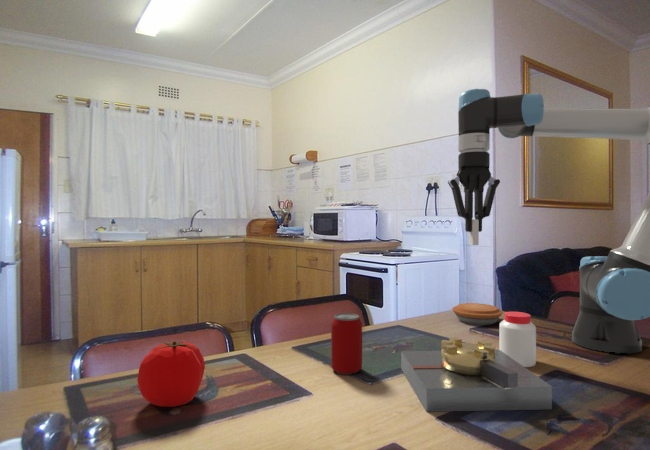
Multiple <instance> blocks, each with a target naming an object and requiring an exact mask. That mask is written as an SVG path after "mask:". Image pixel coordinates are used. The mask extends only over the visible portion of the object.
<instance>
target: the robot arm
mask: <svg viewBox="0 0 650 450" xmlns="http://www.w3.org/2000/svg"><path fill="white" fill-rule="evenodd" d="M544 101H545V100H544V96H543V95H542V94H540V93H524V94H515V95H506V96H505V95H504V96H497V97H496V96H495V97H494V96H491V93H490V91H489V90H488V89H485V88H473V89H468V90H465V91H463V92H462V93H461V94H460V95H459V98H458V113H457V115H458V116H457V117H458V150H457V151H458V152H459V154H458V163H457V164H458V166H457V167H458V171H457V173H456V176H455V177H453V178H452V179H449V180H448V181H447V184H448V186H449V187H450V189H451V191H452V195H453V200H454V204H455V208H456V213H457V216H458V217H461V218H463V219H464V221H465V224H464V226H465V227H464V230H465V232H467V233H468V245H471V246H479V245H480V244H479V240H480V239H479V238H480V237H479V235H480V234H479V233H481V232H482V231H483V220H484V218H486V217H490V215H491V211H492V207H493V204H494V198H495V196H496V190H497V188H498V187H499V185H500V183H501V180H500V179H499V178H497V179H496V178H495V177H494V176H492V173H491V171H490V164H491V163H490V160H491V159H490V155H491V154H490V153H489V152H488V151H489V150H490V145H491V144H490V139H491V138H490V136H491V135H490V129H498V132H499V133H500V134H501V135H502V136H503V137H504V138H507V139H515V138H518V137H539V138H540V137H544V138H545V137H546V138H547V137H549V138H568V139H569V138H575V139H597V140H598V139H599V140H600V139H601V140H602V139H604V140H633V141H640V142H642V143H643V144H644V145H650V106H649V107H647V108H580V107H579V108H578V107H573V108H572V107H571V108H568V107H566V108H564V107H560V108H559V107H550V108H549V107H544V104H545V103H544ZM460 184H461V186H462V187H463V193H464V200H463V196H462V191H461V187H460ZM486 184H487V185H488V186H487V190H486V194H485V197H484V190H485V186H486ZM473 204H474V205H473ZM473 216H474V217H473ZM579 264H580V265H579V267H578V268H579V313H578V316H577V318H576V321H575V324H574V326H573V330H572V331H571V342H572V343H574V345H575V344H576V345H577V346H579V347H582V348H584V349H589V350H592V351H597V350H598V351H597V352H602V351H604V352H603V353H609V352H615V353H614V354H620V353H627V354H628V355H629V354H637V353H640V352H642V350H643V341H642V340H643V339H642V338H641V336H640V333H639V330H638V327H637V325H636V322H635V321H639V320H640V321H641V320H645V319H648V318H650V191H649V192H648V194H647V195H646V198H645V200H644V202H643V204H642V205H641V208H640V209H639V211H638V213H637V215H636V217H635V219H634V221H633V222H632V225H631V227H630V229H629V231H628V233H627V235H626V237H625V239H624V240H623V243H622V245H620V247H616V248H614V249H611V250H610V251H609V252H608V255H607V256H605V255H603V256H600V255H598V256H597V255H596V256H592V255H591V256H584V257H582V258H581V259H580V263H579Z"/></svg>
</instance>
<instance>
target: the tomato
mask: <svg viewBox="0 0 650 450" xmlns="http://www.w3.org/2000/svg"><path fill="white" fill-rule="evenodd" d="M161 343H162V344H160V345H157V346H154V347H153V348H152V349H150V351H149V352H148V353H147V354H146V355H145V356H144V357H143V359H142V360H141V362H140V365H139V366H138V367H139V368H138V372H137V379H136V381H137V387H138V390H139V392H140V394H141V396H142V397H143V398H144V399H145V401H146V402H148V403H149V404H152V405H153V406H158V407H171V408H172V407H173V408H175V407H176V406H177V407H179V406H182V405H186V404H188V403H189V402H190V401H192V400H194V398H195V396H196V395H197V393H198V392H199V389H200V387H201V383H202V381H203V378H204V373H205V369H206V366H205V365H206V364H205V358H204V356H203V354H202V353H201V350H200V349H199V348H198V347H197V346H196V345H194V344H193V343H190V342H182V341H179V342H177V341H176V340H175V341H174V340H173V341H172V342H166V341H162V342H161ZM177 407H176V408H177Z"/></svg>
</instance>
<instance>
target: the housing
mask: <svg viewBox="0 0 650 450" xmlns="http://www.w3.org/2000/svg"><path fill="white" fill-rule="evenodd" d="M400 359H401V360H400V364H401V365H400V370H401V369H402V370H401V372H402V371H403V372H402V373H403V375H404V377H405V378H406V380H407V382H408V383H409V385H410V387H411V388H412V391H413V392H414V393H415V394H416V397H417V398H418V400H419V402H420V403H421V405H422V407H423V408H424V410H425V412H426V413H428V412H429V413H430V412H431V413H432V412H433V413H434V412H438V413H439V412H482V411H484V412H486V411H526V410H527V411H533V410H534V411H535V410H536V411H539V410H552V409H553V386H552V385H550V383H548V382H546V381H545V380H543V379H542V378H541V377H540V376H538V375H536V374H535V373H533V372H532V371H531V370H529V369H528V368H527V367H523V366H522V365H521V364H519V363H518V362H516V361H515V360H513V359H512V358H511V357H509V356H508V355H506V354H505V353H503V352H502V351H501V350H499V349H496V353H495V362H496V363H498V364H500V365H503V366H505V367H507V368H509V369H511V370H513V371H515V372H517V373H518V387H512V388H507V387H505V386H503V385H501V384H499V383H497V382H496V381H494V380H492V379H490V378H488V377H486V376H484V375H469V374H462V373H457V372H454V371H451V370H448V369H446V368H445V367H443V366H442V364H441V350H404V351H403V350H402V351H401V352H400Z"/></svg>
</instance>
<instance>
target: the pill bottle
mask: <svg viewBox="0 0 650 450" xmlns="http://www.w3.org/2000/svg"><path fill="white" fill-rule="evenodd" d="M531 317H532V316H531V314H529V313H526V312H521V311H506V312H504V319H503V320H501V321H500V322H499V325H498V328H499V329H498V330H499V331H498V334H499V336H498V337H499V338H498V341H499V342H498V350H501V351H502V352H503V353H505V354H506V355H508V356H509V357H511V358H512V359H513V360H515V361H516V362H518V363H519V364H521V365H522V366H523V367H525V368H531V367H535V366H536V364H537V327H536V325H535V324H533V322H532V321H531V319H532V318H531Z"/></svg>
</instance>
